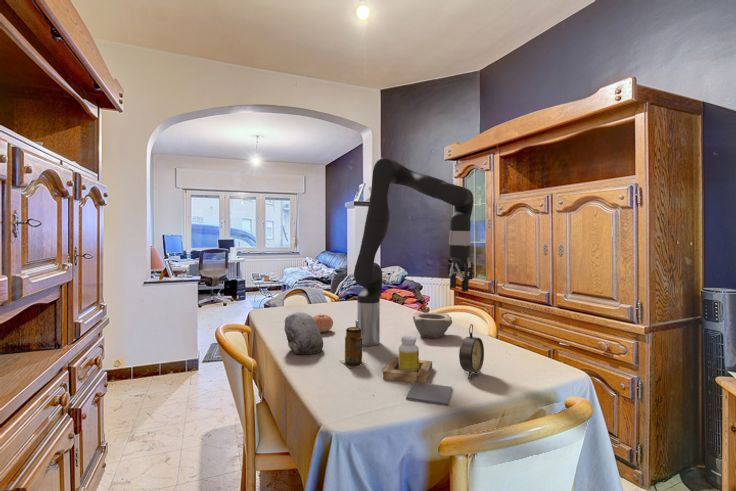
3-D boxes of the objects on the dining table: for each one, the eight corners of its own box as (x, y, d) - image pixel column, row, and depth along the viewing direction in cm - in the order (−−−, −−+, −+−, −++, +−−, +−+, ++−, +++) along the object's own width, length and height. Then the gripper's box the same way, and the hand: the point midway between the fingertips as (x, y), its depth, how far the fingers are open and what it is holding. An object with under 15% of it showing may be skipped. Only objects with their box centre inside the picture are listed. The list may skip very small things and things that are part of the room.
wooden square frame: (383, 378, 114) (383, 371, 113) (394, 363, 127) (394, 356, 127) (424, 384, 109) (424, 376, 109) (432, 368, 123) (432, 361, 122)
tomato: (331, 334, 164) (331, 317, 164) (307, 334, 164) (307, 317, 164) (334, 328, 175) (334, 312, 174) (311, 328, 175) (311, 311, 175)
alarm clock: (472, 381, 112) (473, 328, 111) (455, 377, 115) (456, 326, 114) (485, 371, 120) (485, 322, 120) (469, 367, 123) (469, 319, 123)
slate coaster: (406, 399, 99) (406, 397, 99) (414, 383, 110) (414, 381, 110) (447, 405, 96) (447, 403, 96) (451, 388, 106) (451, 386, 106)
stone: (324, 355, 136) (324, 315, 136) (284, 357, 133) (283, 316, 133) (321, 345, 148) (321, 308, 148) (284, 347, 145) (284, 309, 145)
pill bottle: (418, 378, 114) (418, 341, 114) (397, 376, 116) (397, 339, 115) (419, 370, 121) (419, 335, 120) (399, 369, 122) (399, 334, 122)
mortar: (449, 331, 169) (450, 312, 169) (452, 342, 153) (452, 320, 153) (413, 330, 172) (413, 310, 172) (412, 340, 155) (412, 318, 155)
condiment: (358, 358, 133) (358, 325, 132) (368, 365, 125) (368, 330, 125) (339, 361, 130) (339, 327, 129) (349, 369, 122) (349, 333, 122)
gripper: (441, 243, 135) (440, 286, 136) (460, 244, 122) (459, 293, 122) (459, 243, 137) (458, 286, 138) (480, 244, 123) (479, 292, 124)
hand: (458, 289), depth 130 cm, fingers open, 8 cm apart
